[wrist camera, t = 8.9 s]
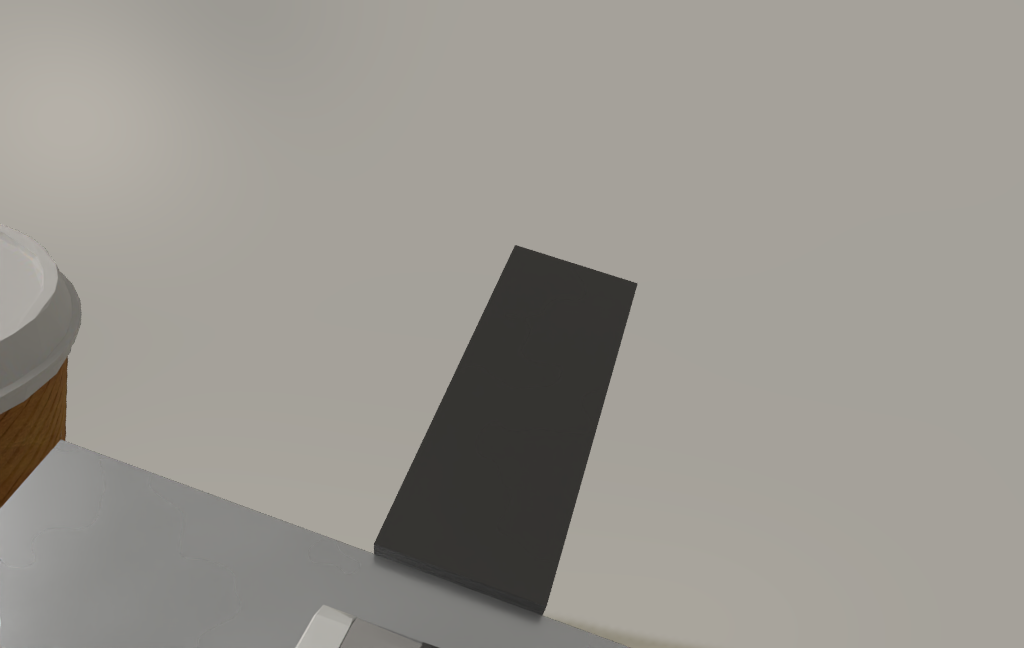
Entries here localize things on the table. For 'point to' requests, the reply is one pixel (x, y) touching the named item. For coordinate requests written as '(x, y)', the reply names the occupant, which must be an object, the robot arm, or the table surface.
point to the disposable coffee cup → (32, 355)
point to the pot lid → (327, 562)
